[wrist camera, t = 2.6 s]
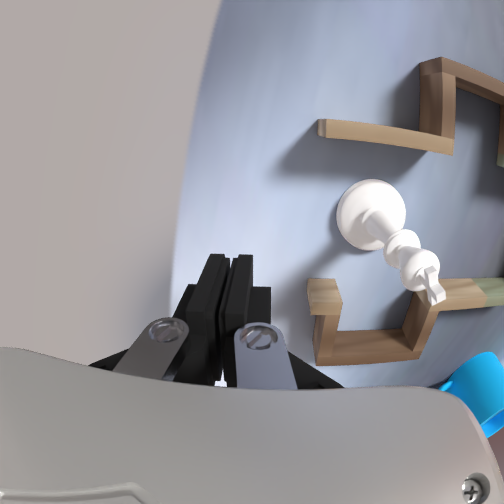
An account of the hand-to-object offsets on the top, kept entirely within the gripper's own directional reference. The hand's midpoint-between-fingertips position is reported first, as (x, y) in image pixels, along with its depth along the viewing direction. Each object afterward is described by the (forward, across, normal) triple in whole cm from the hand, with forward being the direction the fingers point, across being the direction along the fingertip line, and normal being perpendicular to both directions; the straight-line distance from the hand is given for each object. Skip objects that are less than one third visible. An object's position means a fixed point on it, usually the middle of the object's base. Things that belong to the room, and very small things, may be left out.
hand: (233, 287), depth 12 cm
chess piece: (+8, -8, -1) cm, 12 cm away
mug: (+9, -25, +18) cm, 32 cm away
